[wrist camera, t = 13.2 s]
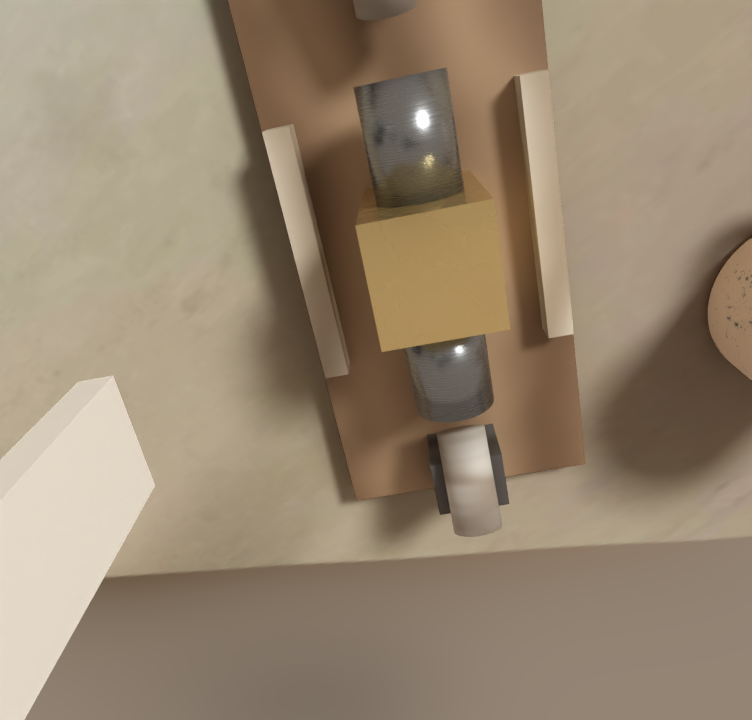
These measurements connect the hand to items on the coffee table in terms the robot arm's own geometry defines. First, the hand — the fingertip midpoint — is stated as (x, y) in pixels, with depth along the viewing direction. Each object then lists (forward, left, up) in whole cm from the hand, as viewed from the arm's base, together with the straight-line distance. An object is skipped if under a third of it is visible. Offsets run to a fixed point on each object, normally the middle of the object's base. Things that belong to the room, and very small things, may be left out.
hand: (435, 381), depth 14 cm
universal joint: (+1, -1, -20) cm, 20 cm away
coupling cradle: (+1, -1, -21) cm, 21 cm away
